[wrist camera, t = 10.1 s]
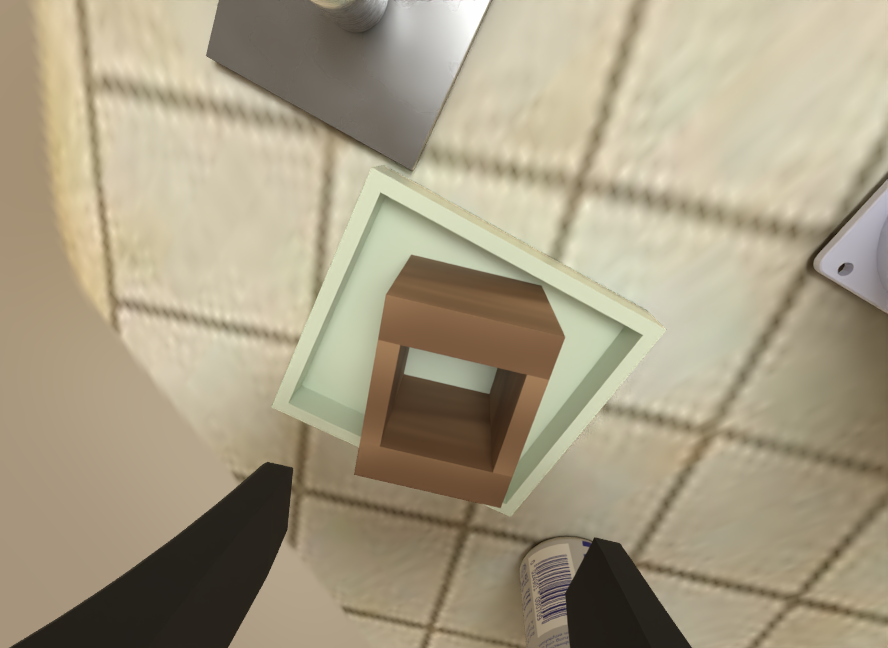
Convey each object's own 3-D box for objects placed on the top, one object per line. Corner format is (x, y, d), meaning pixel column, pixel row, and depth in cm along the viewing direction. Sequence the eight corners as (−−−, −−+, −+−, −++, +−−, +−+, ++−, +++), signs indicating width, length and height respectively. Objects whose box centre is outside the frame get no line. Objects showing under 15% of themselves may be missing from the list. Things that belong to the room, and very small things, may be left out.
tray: (646, 310, 17) (666, 329, 15) (507, 486, 22) (510, 517, 20) (384, 165, 16) (371, 167, 14) (290, 383, 20) (271, 407, 18)
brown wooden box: (411, 254, 17) (385, 294, 12) (541, 285, 17) (565, 336, 12) (383, 397, 19) (354, 474, 15) (495, 423, 19) (500, 508, 15)
